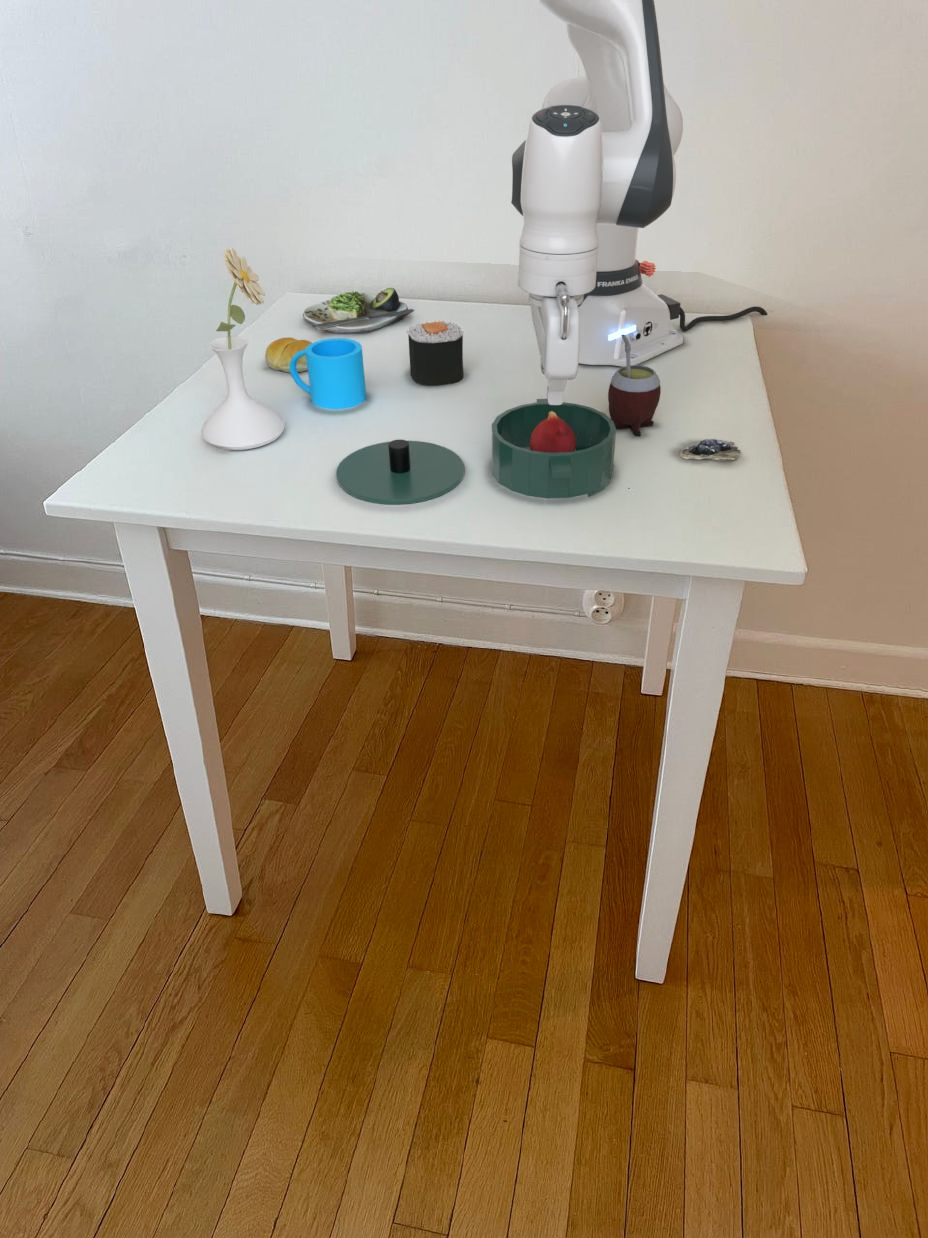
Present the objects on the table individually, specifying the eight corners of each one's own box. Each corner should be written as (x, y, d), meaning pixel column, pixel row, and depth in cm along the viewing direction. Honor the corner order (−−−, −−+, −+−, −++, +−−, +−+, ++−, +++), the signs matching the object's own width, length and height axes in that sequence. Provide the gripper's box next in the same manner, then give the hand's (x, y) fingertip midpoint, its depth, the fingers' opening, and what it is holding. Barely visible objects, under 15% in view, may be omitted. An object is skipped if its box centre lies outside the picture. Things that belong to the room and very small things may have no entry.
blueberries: (746, 464, 123) (748, 451, 122) (685, 467, 123) (687, 454, 122) (730, 441, 129) (732, 428, 128) (672, 444, 128) (673, 431, 127)
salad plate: (351, 347, 160) (348, 320, 157) (278, 326, 169) (275, 300, 166) (425, 316, 172) (424, 290, 169) (354, 297, 181) (352, 273, 178)
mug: (376, 394, 144) (371, 342, 139) (350, 416, 138) (344, 361, 133) (307, 383, 148) (301, 332, 143) (279, 404, 142) (271, 351, 137)
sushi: (404, 370, 151) (401, 320, 147) (454, 363, 153) (452, 314, 149) (417, 389, 145) (415, 338, 140) (469, 381, 147) (468, 331, 142)
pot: (599, 435, 131) (603, 391, 127) (624, 511, 114) (628, 463, 111) (488, 438, 131) (488, 394, 127) (496, 515, 114) (496, 467, 110)
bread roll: (288, 350, 159) (285, 327, 157) (330, 361, 155) (327, 337, 153) (254, 367, 154) (250, 342, 151) (296, 377, 150) (293, 353, 147)
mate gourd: (647, 414, 136) (657, 309, 127) (665, 437, 130) (678, 329, 121) (596, 418, 135) (603, 314, 127) (613, 443, 129) (621, 334, 120)
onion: (574, 460, 125) (577, 402, 120) (574, 481, 120) (577, 422, 115) (530, 458, 125) (531, 401, 120) (528, 479, 120) (529, 421, 116)
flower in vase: (260, 463, 126) (229, 271, 112) (187, 451, 130) (147, 263, 115) (306, 423, 136) (283, 242, 121) (237, 413, 140) (206, 235, 125)
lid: (462, 446, 129) (462, 414, 126) (466, 506, 116) (465, 472, 113) (342, 450, 129) (338, 418, 126) (331, 510, 116) (327, 476, 113)
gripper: (597, 299, 99) (587, 422, 107) (575, 246, 116) (568, 356, 124) (536, 299, 99) (531, 423, 107) (523, 246, 116) (520, 357, 124)
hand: (551, 387), depth 116 cm, fingers open, 8 cm apart
